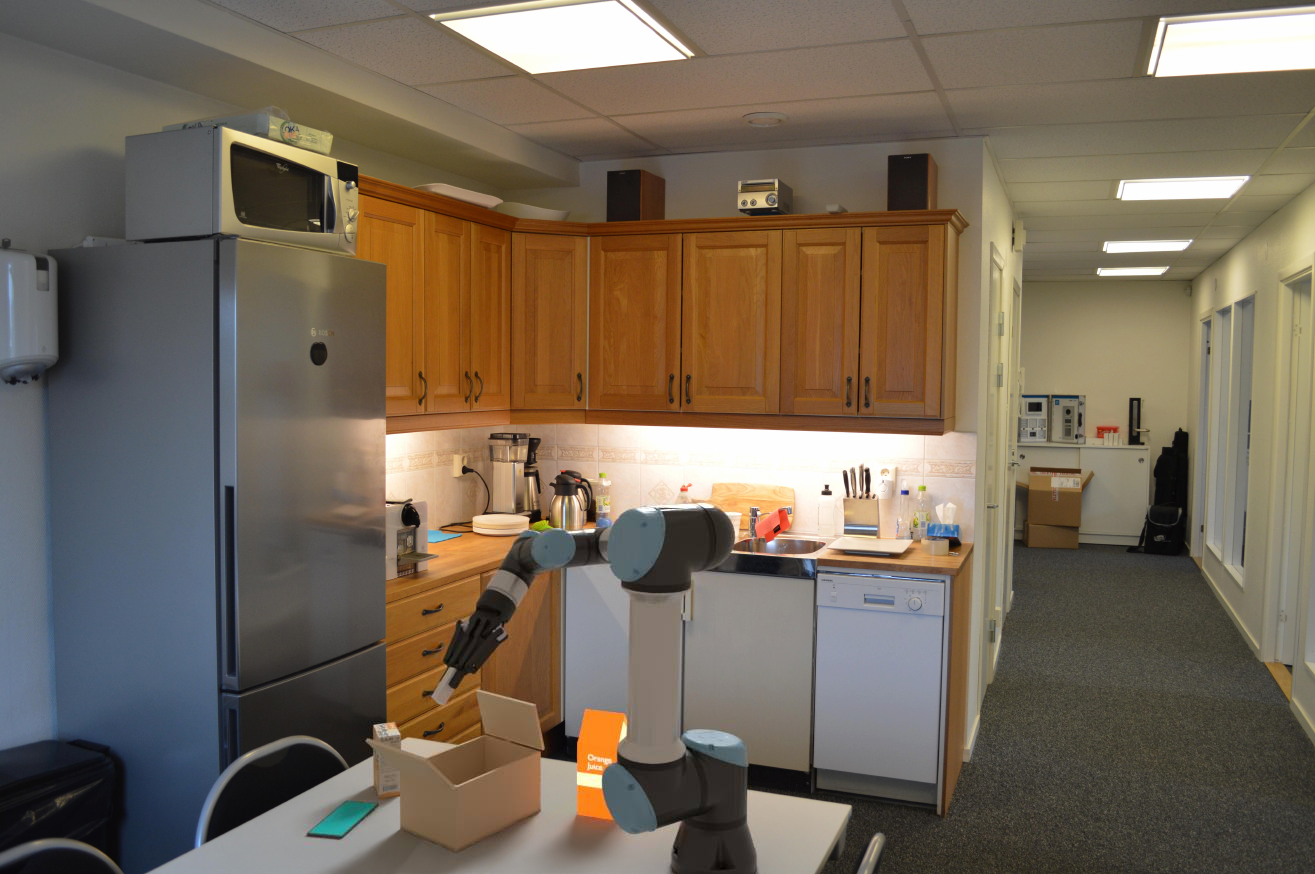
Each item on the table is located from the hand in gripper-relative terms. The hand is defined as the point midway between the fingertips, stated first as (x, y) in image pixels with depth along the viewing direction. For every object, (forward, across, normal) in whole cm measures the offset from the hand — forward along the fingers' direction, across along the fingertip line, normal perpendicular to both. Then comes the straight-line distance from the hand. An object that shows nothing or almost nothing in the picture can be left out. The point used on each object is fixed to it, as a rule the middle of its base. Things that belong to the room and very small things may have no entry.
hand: (437, 701), depth 175 cm
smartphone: (+23, +20, -14) cm, 34 cm away
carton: (+12, 0, -24) cm, 27 cm away
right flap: (-7, 0, -19) cm, 21 cm away
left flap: (+11, 0, -3) cm, 12 cm away
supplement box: (+13, +25, -24) cm, 37 cm away
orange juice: (-1, -18, -38) cm, 42 cm away
